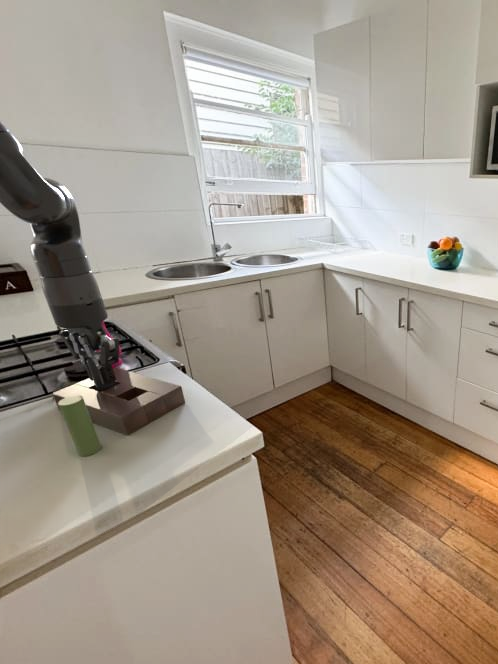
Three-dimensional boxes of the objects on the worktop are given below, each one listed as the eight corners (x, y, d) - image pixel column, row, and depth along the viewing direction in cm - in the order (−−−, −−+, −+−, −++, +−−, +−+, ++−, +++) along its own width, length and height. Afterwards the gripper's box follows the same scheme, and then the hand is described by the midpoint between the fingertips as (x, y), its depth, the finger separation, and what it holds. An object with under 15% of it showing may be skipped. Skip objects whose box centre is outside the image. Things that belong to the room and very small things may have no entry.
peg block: (127, 435, 68) (121, 417, 66) (58, 410, 74) (51, 393, 73) (185, 402, 78) (181, 385, 77) (120, 383, 84) (115, 367, 83)
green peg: (74, 453, 63) (53, 402, 59) (93, 443, 66) (74, 393, 62) (86, 458, 62) (65, 407, 58) (105, 447, 65) (86, 397, 61)
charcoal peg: (98, 404, 77) (82, 360, 73) (113, 397, 79) (99, 354, 75) (108, 407, 76) (92, 363, 72) (123, 400, 78) (109, 356, 74)
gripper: (25, 298, 68) (59, 382, 75) (76, 309, 63) (107, 398, 70) (73, 287, 74) (100, 366, 81) (122, 297, 69) (146, 379, 76)
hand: (103, 380), depth 75 cm, fingers closed on charcoal peg, 3 cm apart
